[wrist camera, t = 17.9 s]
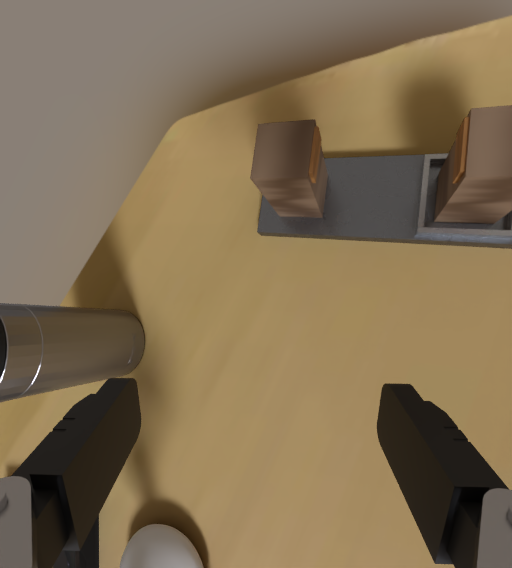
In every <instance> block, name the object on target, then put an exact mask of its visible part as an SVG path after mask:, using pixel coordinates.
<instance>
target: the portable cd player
mask: <svg viewBox="0 0 512 568" xmlns="http://www.w3.org/2000/svg"><path fill="white" fill-rule="evenodd" d="M53 568H99V515H98V517H97V518H96V520H95V522H94V524H93V526H92V528H91V530H90V532H89V534H88V536H87V538H86V540H85V542H84V544H83V546H82V548H81V550H80V551H66V550H62V551H61V553H60V555H59V556H58V558H57V560H56V562H55V564H54V565H53Z"/></svg>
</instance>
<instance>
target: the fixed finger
mask: <svg viewBox="0 0 512 568" xmlns="http://www.w3.org/2000/svg"><path fill="white" fill-rule="evenodd" d="M327 178H328V173H327V169H326V165H325V160H324V156H323V152H322V147H321V137H320V132H319V128H318V126H316V122H315V120H302V121H290V122H278V123H265V124H258V129H257V136H256V143H255V150H254V157H253V164H252V170H251V177H250V179H251V180H252V181H253V183H254V184H255V185H256V186H257V188H258V189H259V190H260V192H261V193H262V194H263V196H264V197H265V198H266V199H267V201H268V202H269V203H270V205H271V206H272V207H273V209H274V210H275V211H276V212H277V214H278V215H279V216H280V217H314V218H323V210H324V202H325V194H326V186H327Z"/></svg>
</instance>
